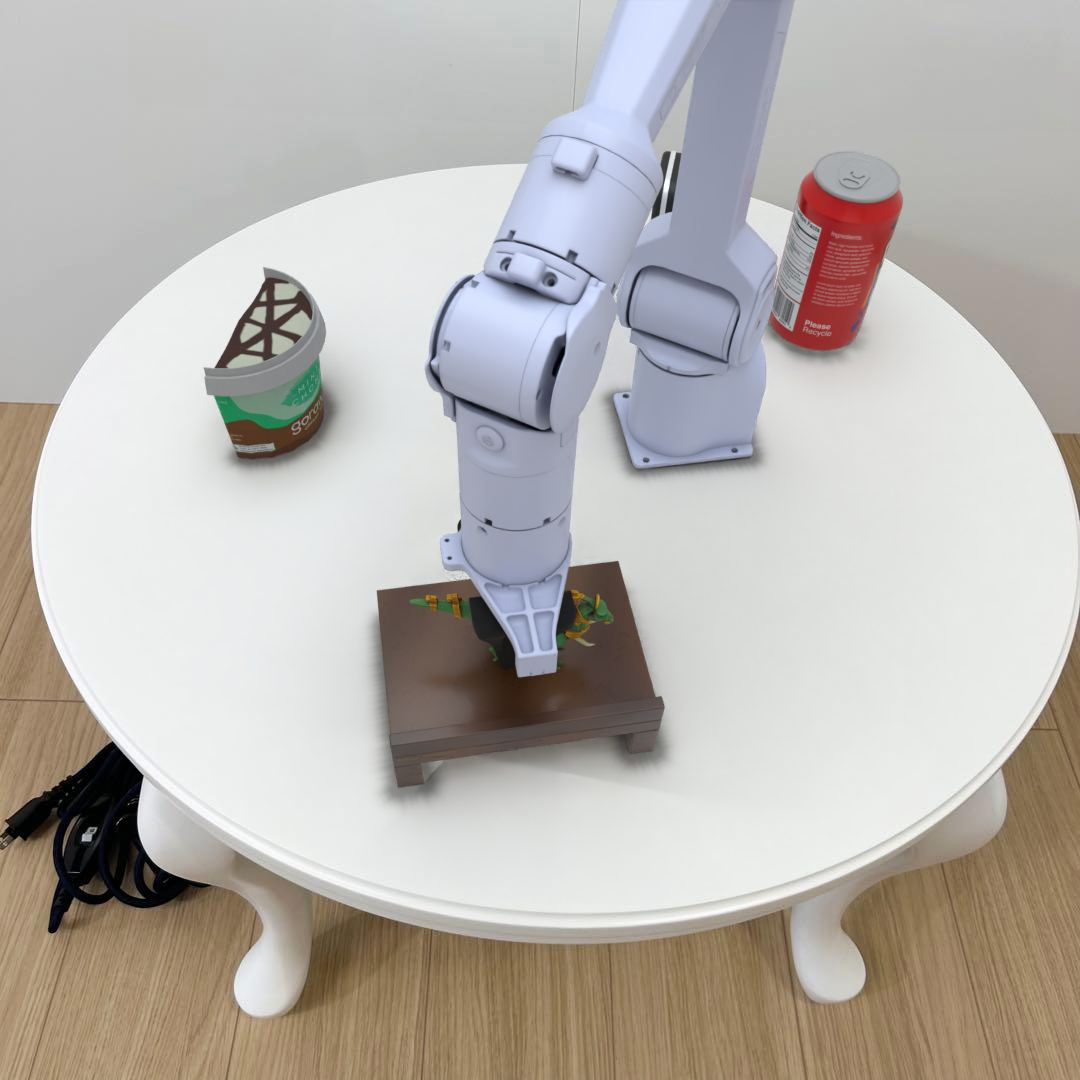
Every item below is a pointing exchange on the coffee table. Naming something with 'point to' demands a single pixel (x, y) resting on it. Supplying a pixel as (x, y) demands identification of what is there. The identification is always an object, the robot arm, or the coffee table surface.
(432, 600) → the figurine
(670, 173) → the battery charger
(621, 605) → the display stand
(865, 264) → the soda can
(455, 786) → the coffee table surface
